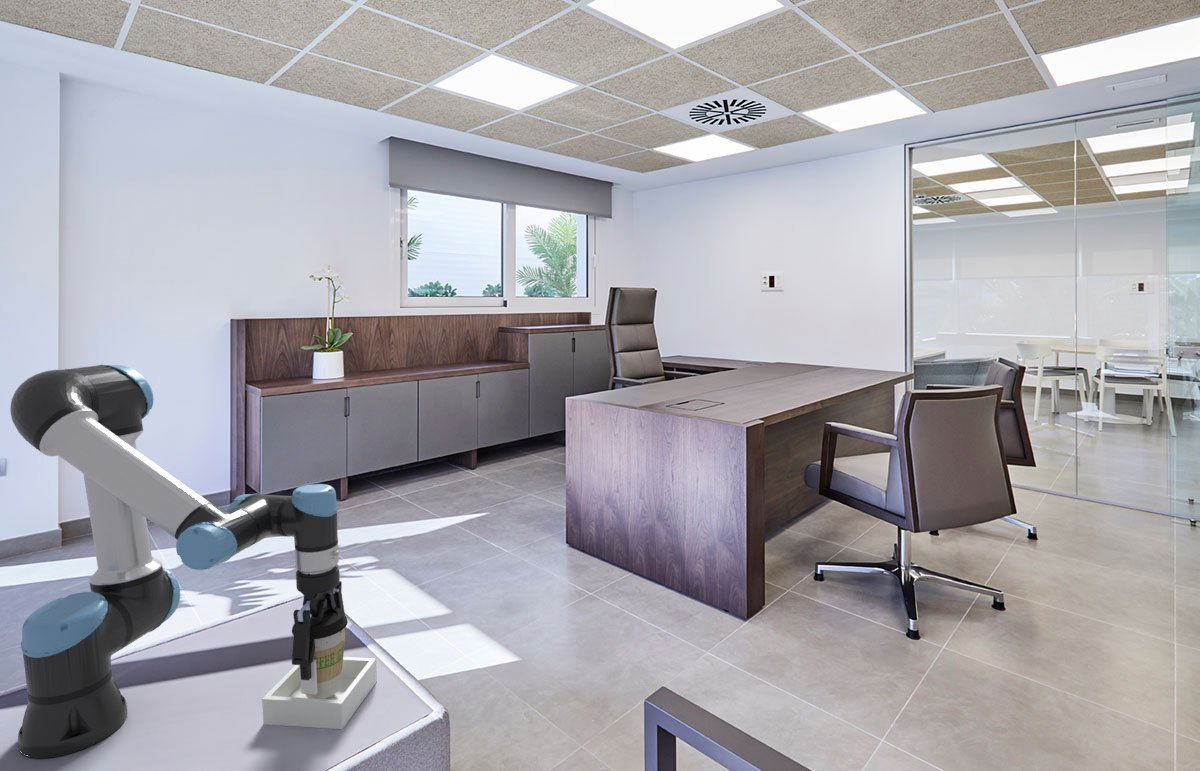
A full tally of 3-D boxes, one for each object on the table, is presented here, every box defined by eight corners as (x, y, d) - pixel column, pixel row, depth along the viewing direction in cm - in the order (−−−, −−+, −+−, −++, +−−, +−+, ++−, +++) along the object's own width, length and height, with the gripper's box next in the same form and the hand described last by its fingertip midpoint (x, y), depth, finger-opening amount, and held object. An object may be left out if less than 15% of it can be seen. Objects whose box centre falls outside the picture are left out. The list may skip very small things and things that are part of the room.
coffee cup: (329, 708, 118) (326, 632, 116) (283, 701, 120) (279, 626, 118) (359, 678, 127) (357, 607, 126) (316, 672, 129) (313, 602, 128)
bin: (263, 724, 117) (262, 698, 116) (306, 677, 132) (305, 654, 131) (342, 729, 116) (341, 703, 115) (376, 681, 131) (376, 658, 130)
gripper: (307, 592, 110) (312, 714, 113) (361, 546, 131) (364, 650, 134) (265, 590, 110) (271, 711, 113) (326, 545, 131) (330, 648, 134)
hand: (322, 678), depth 123 cm, fingers closed on coffee cup, 9 cm apart
